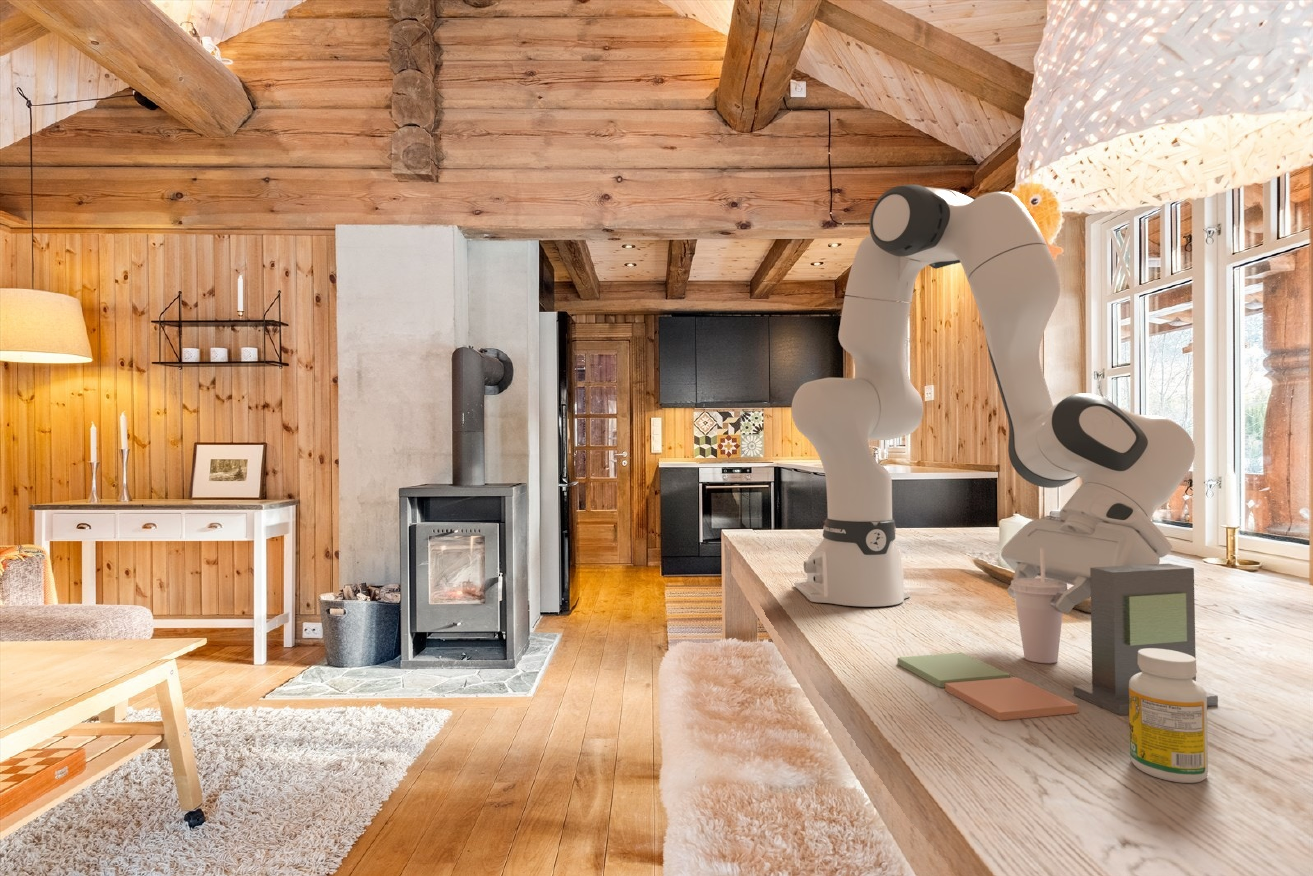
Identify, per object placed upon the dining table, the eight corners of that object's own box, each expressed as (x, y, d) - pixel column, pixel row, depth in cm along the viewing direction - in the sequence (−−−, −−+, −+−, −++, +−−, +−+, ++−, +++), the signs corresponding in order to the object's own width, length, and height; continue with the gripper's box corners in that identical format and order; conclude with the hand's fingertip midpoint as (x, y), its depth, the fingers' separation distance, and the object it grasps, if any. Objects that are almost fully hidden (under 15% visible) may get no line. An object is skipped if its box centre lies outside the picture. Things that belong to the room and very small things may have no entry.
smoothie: (1078, 667, 87) (1074, 551, 88) (1020, 665, 89) (1017, 551, 89) (1059, 652, 94) (1056, 544, 94) (1006, 651, 95) (1003, 544, 95)
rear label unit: (1073, 695, 78) (1071, 565, 78) (1166, 686, 81) (1163, 561, 81) (1119, 715, 72) (1117, 575, 72) (1217, 705, 75) (1215, 570, 75)
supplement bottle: (1197, 791, 56) (1195, 668, 57) (1119, 768, 61) (1118, 653, 61) (1216, 771, 60) (1214, 655, 60) (1142, 750, 64) (1140, 642, 64)
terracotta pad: (945, 690, 80) (945, 683, 80) (1016, 684, 82) (1016, 677, 82) (999, 720, 71) (999, 712, 71) (1078, 712, 73) (1077, 705, 73)
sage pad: (897, 664, 90) (897, 657, 90) (962, 658, 92) (961, 652, 92) (940, 687, 81) (939, 680, 81) (1010, 681, 83) (1010, 674, 83)
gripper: (1027, 499, 103) (967, 571, 101) (1153, 512, 83) (1081, 602, 81) (1054, 530, 104) (995, 602, 102) (1185, 550, 84) (1115, 640, 82)
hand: (1034, 602), depth 91 cm, fingers closed on smoothie, 6 cm apart
